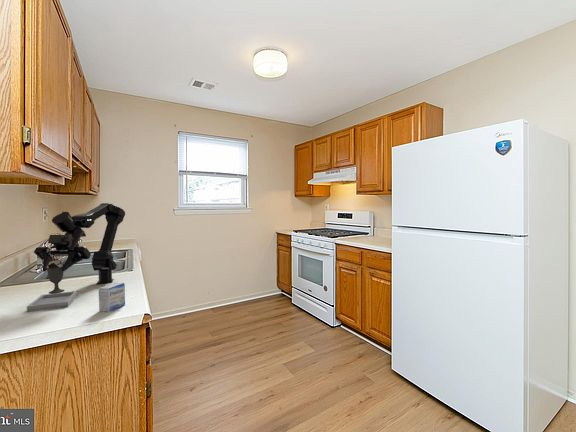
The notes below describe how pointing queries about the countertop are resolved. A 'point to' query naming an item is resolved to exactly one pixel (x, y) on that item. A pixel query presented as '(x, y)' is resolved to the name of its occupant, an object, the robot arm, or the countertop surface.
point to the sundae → (55, 274)
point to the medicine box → (111, 297)
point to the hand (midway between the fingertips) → (53, 271)
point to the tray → (52, 301)
